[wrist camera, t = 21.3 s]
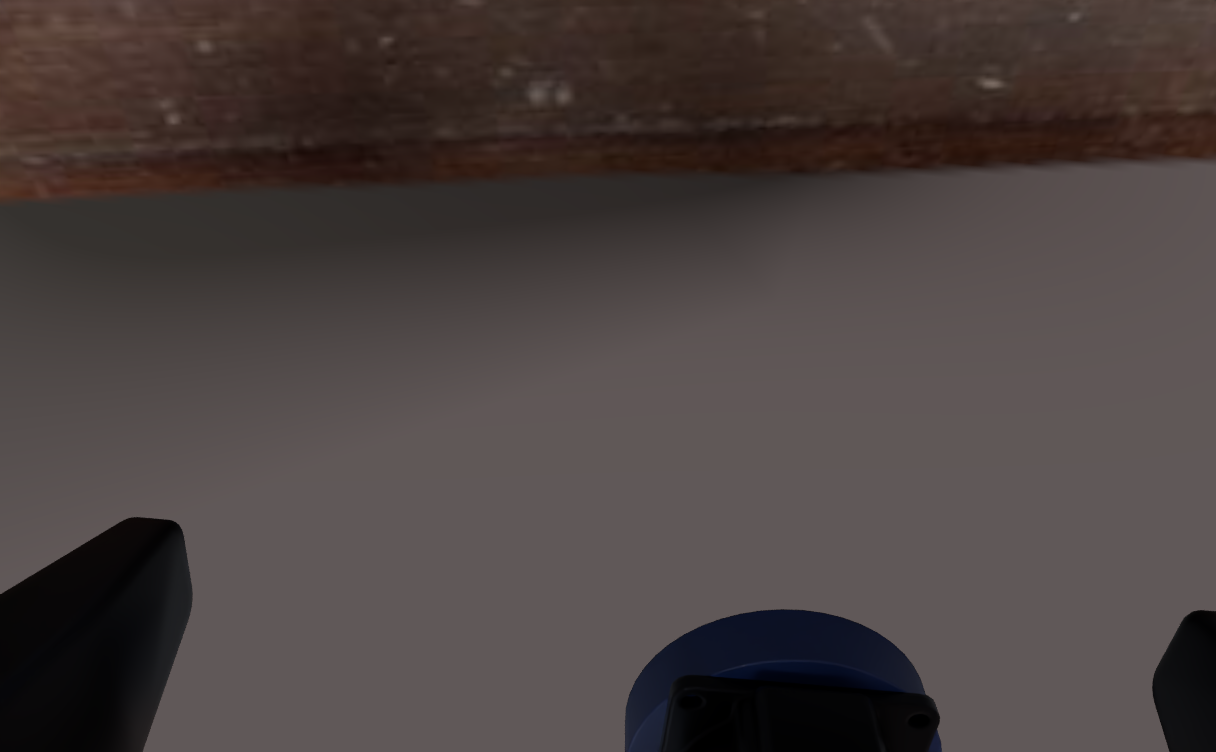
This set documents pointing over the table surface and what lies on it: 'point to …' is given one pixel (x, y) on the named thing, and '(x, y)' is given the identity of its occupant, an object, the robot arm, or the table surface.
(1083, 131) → the table surface
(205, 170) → the table surface
